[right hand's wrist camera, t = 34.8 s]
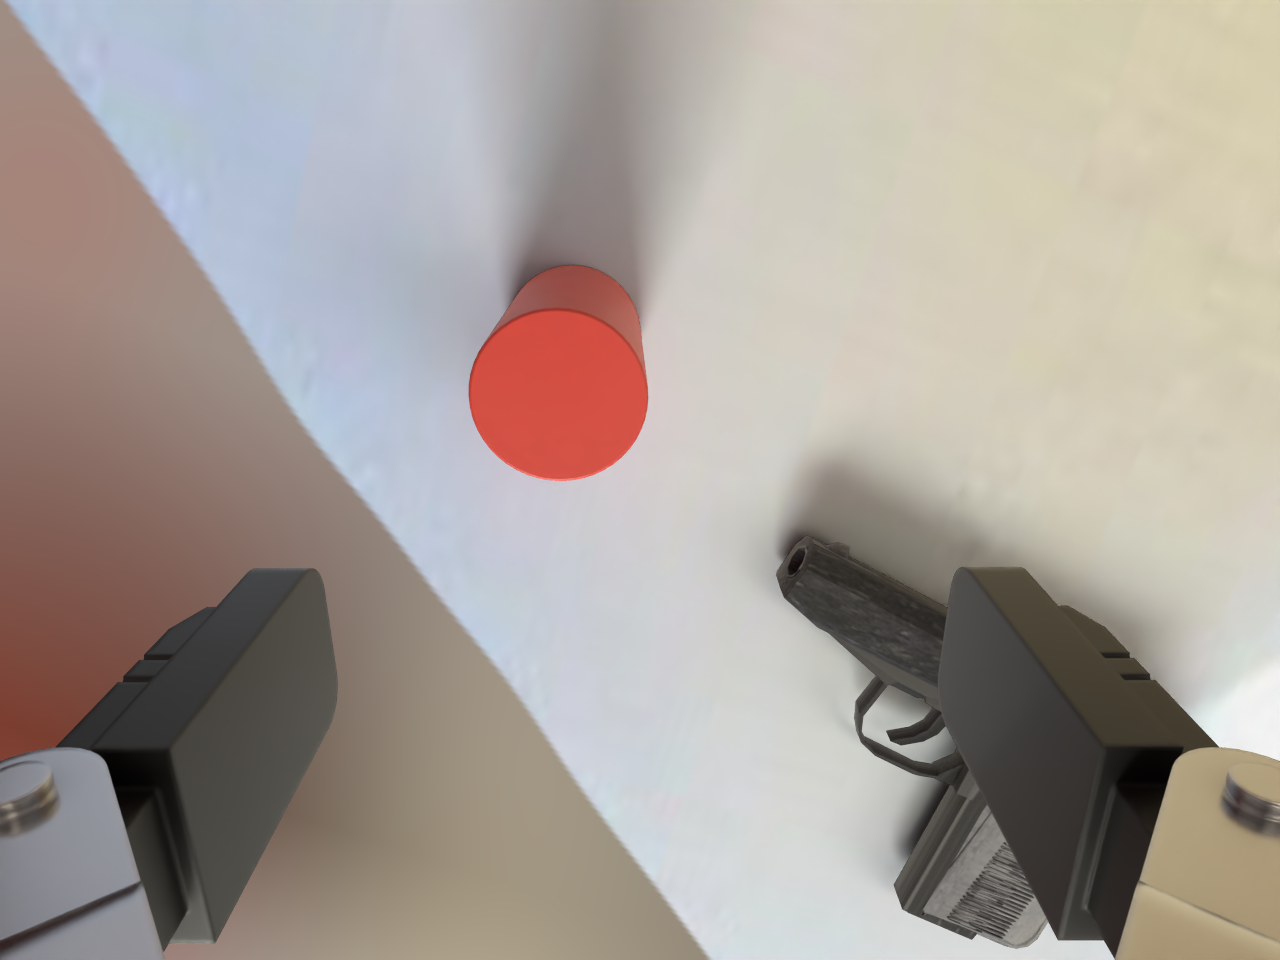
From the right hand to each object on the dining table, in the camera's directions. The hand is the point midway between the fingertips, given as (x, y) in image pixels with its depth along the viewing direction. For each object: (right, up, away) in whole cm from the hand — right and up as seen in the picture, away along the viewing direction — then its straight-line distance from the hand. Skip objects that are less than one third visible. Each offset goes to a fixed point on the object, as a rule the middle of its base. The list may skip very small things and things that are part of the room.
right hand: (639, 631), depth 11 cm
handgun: (+11, -8, +23) cm, 26 cm away
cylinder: (-2, +7, +17) cm, 18 cm away
